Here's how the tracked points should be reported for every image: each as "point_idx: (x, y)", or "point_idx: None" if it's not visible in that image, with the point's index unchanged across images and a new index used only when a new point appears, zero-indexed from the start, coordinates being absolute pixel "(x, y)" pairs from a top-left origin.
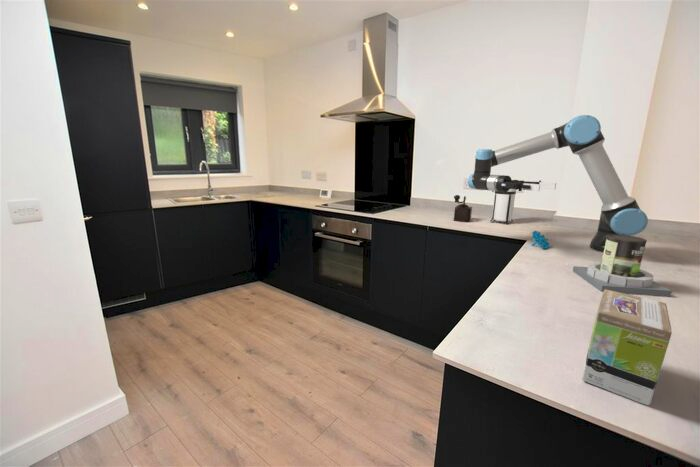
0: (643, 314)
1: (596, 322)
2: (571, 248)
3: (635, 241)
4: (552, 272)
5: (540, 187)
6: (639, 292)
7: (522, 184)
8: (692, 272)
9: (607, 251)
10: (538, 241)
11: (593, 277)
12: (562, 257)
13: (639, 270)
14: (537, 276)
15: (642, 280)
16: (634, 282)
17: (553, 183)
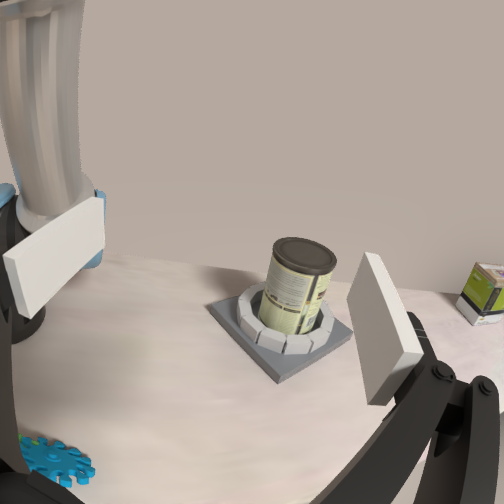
0: (501, 269)
1: None
2: (28, 386)
3: (325, 247)
4: (328, 409)
5: (39, 301)
6: None
7: (4, 457)
8: (122, 255)
9: (322, 293)
10: (75, 469)
11: (325, 343)
12: (155, 413)
13: (256, 290)
14: (382, 418)
15: None
16: None
17: (95, 207)
